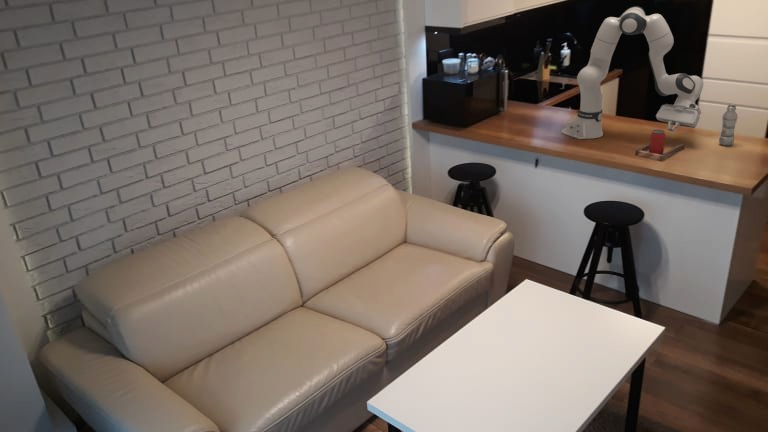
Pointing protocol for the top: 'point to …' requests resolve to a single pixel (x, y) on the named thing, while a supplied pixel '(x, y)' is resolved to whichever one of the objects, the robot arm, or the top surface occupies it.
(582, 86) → the robot arm
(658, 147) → the beer can
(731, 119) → the plastic bottle
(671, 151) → the walnut channel
